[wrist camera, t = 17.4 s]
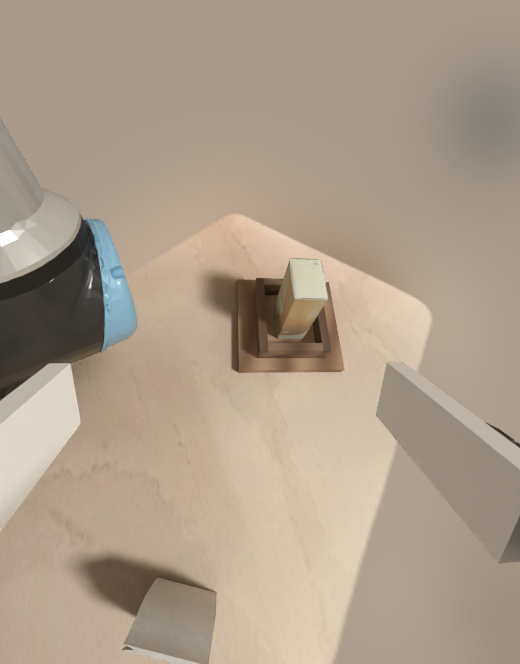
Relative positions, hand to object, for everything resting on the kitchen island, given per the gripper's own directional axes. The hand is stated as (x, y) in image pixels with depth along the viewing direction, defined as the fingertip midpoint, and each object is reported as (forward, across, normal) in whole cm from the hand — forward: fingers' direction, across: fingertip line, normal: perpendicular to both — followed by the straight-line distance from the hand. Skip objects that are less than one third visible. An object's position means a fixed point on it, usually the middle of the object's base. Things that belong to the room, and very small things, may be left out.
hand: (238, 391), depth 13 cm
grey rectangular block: (+10, -5, -32) cm, 34 cm away
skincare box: (+33, +10, -7) cm, 35 cm away
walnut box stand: (+34, +10, -8) cm, 36 cm away
